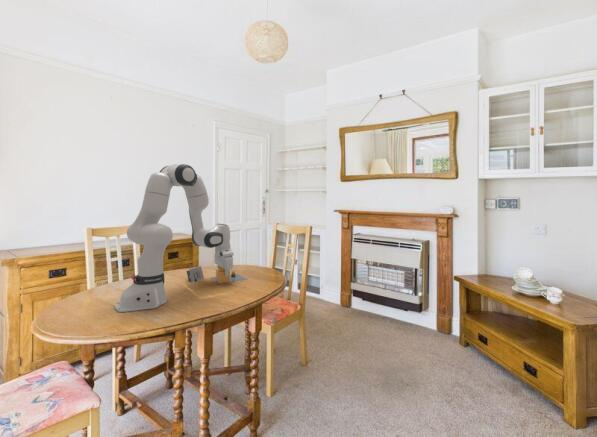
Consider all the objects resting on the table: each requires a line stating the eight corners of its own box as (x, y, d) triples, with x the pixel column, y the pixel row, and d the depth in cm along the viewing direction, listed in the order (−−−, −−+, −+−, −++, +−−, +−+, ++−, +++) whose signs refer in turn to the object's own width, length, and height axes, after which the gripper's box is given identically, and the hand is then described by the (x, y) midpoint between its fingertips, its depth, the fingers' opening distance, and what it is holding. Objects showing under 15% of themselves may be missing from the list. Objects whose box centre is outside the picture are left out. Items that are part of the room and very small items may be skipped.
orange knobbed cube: (219, 283, 183) (219, 269, 182) (216, 280, 188) (216, 267, 187) (229, 281, 186) (229, 268, 185) (225, 279, 191) (225, 266, 190)
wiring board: (219, 286, 181) (219, 277, 180) (210, 280, 194) (209, 271, 193) (248, 281, 191) (248, 273, 190) (237, 276, 204) (237, 267, 203)
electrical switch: (192, 285, 183) (191, 269, 183) (186, 284, 186) (185, 269, 186) (204, 281, 192) (203, 266, 191) (198, 280, 194) (197, 265, 194)
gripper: (211, 248, 192) (211, 271, 194) (224, 254, 176) (224, 278, 177) (221, 247, 196) (221, 269, 197) (234, 253, 179) (235, 277, 180)
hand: (223, 274), depth 187 cm, fingers open, 8 cm apart
